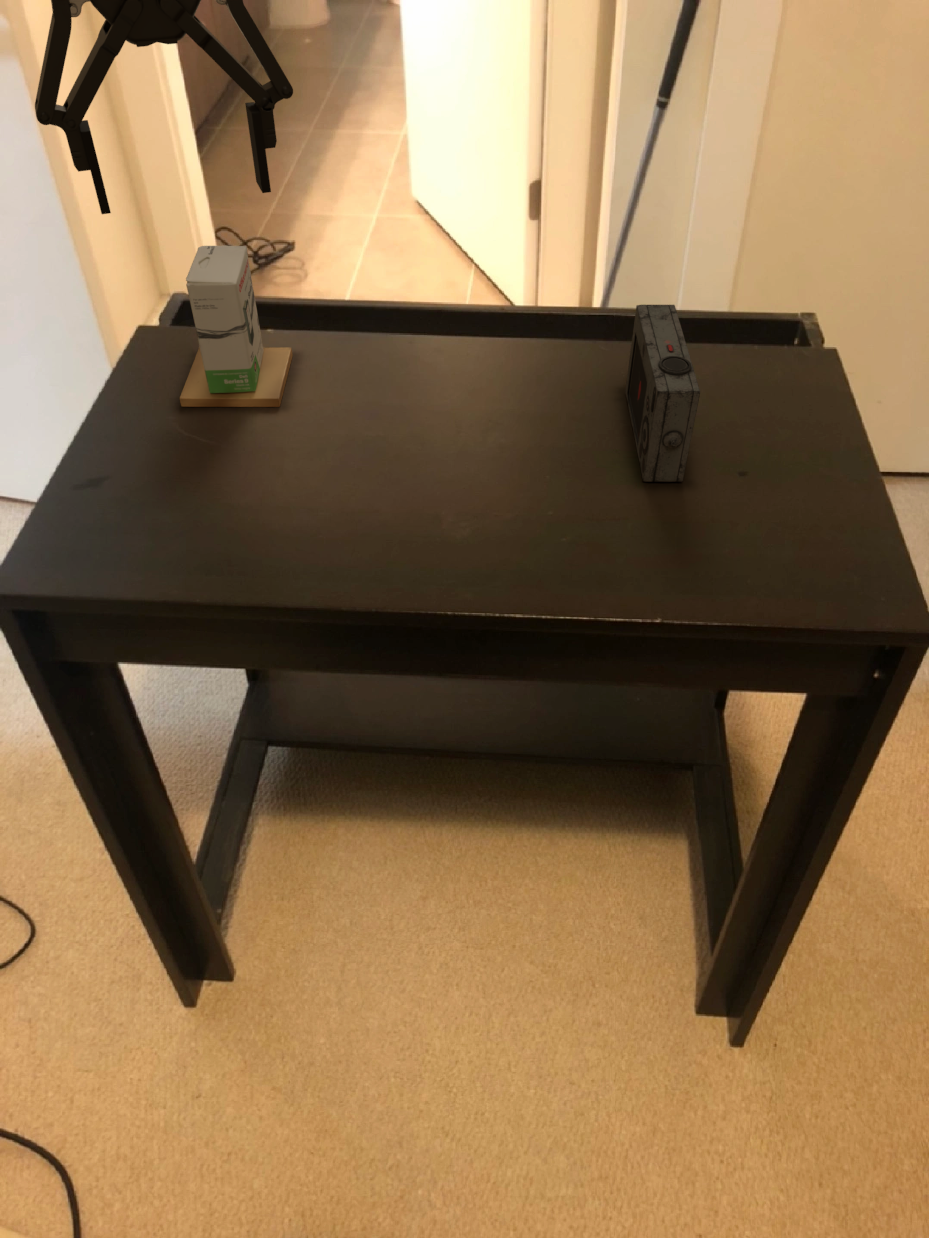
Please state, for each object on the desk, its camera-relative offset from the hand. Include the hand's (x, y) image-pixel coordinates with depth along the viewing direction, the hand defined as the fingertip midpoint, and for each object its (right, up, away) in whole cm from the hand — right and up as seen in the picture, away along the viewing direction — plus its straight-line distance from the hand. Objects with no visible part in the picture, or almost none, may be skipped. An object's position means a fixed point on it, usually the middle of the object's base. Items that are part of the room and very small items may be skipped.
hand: (185, 197), depth 85 cm
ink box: (0, -11, +17) cm, 21 cm away
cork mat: (0, -11, +18) cm, 21 cm away
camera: (+42, -19, +11) cm, 48 cm away
